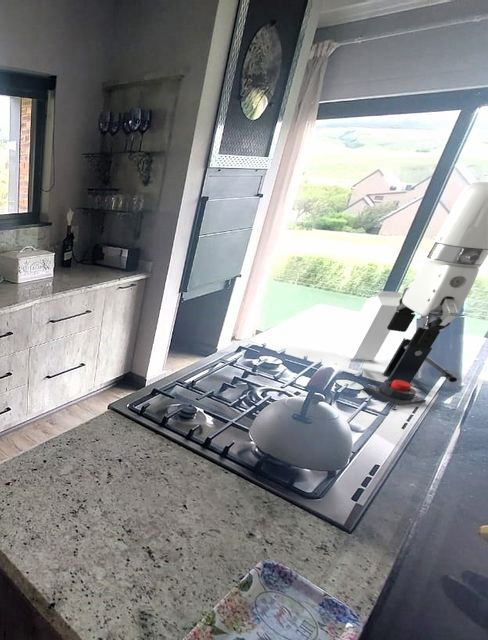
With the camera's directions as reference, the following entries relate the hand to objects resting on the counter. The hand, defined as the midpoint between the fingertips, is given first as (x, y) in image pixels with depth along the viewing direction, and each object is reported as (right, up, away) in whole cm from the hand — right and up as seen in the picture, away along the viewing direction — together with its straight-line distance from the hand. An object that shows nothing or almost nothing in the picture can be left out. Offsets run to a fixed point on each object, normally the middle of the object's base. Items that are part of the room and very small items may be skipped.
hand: (406, 338), depth 84 cm
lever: (+31, -5, +25) cm, 40 cm away
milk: (+29, -3, +44) cm, 52 cm away
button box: (+19, -14, +22) cm, 32 cm away
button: (+19, -11, +20) cm, 30 cm away
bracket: (+27, -10, +30) cm, 42 cm away
